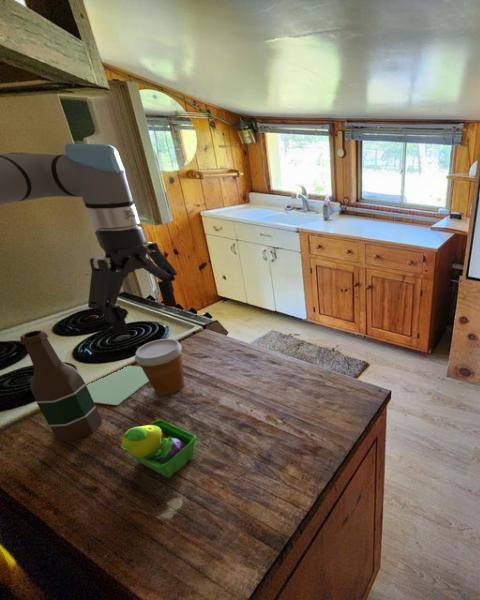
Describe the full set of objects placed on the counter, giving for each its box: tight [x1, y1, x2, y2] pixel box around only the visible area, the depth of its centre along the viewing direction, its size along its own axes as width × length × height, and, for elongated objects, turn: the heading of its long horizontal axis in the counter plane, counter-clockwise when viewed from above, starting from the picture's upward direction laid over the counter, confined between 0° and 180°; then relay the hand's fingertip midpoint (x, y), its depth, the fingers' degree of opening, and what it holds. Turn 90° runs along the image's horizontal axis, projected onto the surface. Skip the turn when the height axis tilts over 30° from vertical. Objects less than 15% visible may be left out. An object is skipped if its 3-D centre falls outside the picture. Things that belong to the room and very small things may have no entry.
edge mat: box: [86, 365, 150, 407], centre depth 84 cm, size 14×14×1 cm
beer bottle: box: [19, 329, 103, 442], centre depth 65 cm, size 8×8×24 cm
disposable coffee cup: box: [134, 338, 185, 396], centre depth 81 cm, size 10×10×12 cm
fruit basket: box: [120, 419, 197, 479], centre depth 62 cm, size 11×9×11 cm
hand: (148, 318), depth 75 cm, fingers open, 13 cm apart
